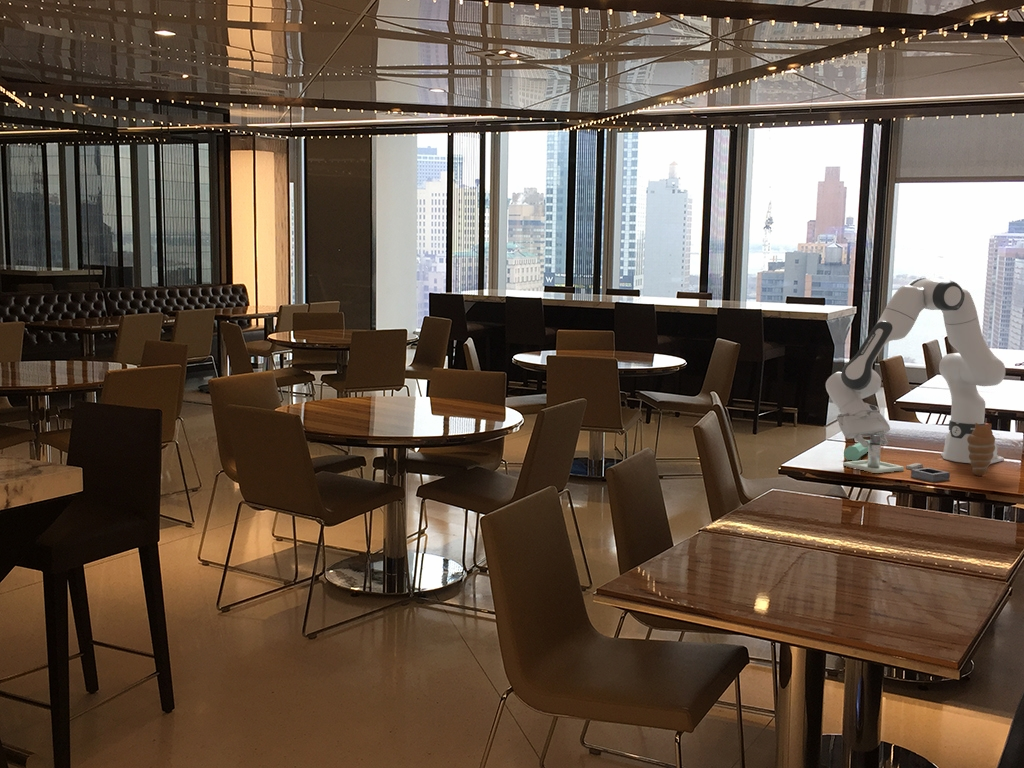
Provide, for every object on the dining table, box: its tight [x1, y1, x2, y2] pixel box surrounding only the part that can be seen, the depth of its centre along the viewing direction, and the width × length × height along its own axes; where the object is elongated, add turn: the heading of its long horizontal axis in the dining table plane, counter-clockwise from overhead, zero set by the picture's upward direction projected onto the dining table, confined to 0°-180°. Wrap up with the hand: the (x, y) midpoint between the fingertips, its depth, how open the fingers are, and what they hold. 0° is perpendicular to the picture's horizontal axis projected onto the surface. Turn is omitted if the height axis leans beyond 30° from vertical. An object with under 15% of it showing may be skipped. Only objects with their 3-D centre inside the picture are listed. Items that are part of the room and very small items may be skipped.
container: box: [843, 439, 870, 461], centre depth 358 cm, size 6×6×25 cm
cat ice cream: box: [967, 423, 996, 477], centre depth 326 cm, size 9×8×18 cm
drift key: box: [905, 462, 924, 471], centre depth 338 cm, size 8×2×2 cm, turn 134°
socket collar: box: [910, 467, 951, 483], centre depth 320 cm, size 8×8×2 cm
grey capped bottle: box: [867, 435, 882, 468], centre depth 334 cm, size 4×4×11 cm
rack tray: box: [842, 459, 905, 473], centre depth 334 cm, size 14×14×2 cm
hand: (876, 445), depth 333 cm, fingers open, 8 cm apart
